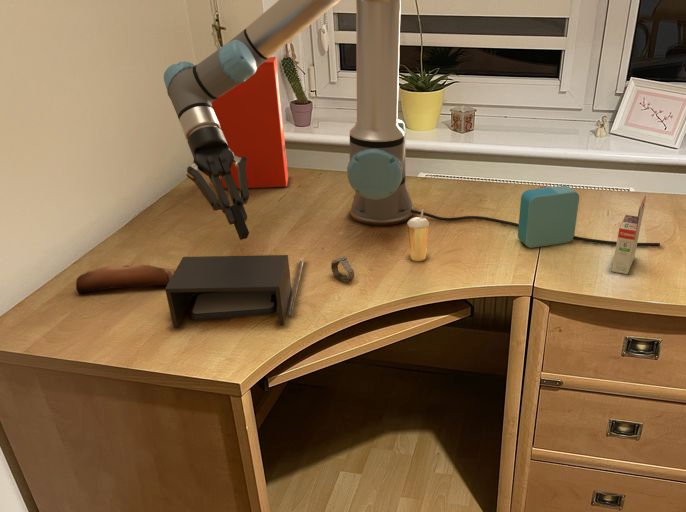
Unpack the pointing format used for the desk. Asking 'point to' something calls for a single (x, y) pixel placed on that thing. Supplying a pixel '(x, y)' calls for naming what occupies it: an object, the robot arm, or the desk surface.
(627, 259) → the ink box
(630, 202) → the desk surface
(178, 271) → the cover
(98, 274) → the sunglasses case
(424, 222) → the milkshake
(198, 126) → the robot arm
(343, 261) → the wristwatch
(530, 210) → the data package
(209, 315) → the phone case
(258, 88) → the tall red block
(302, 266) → the rails
